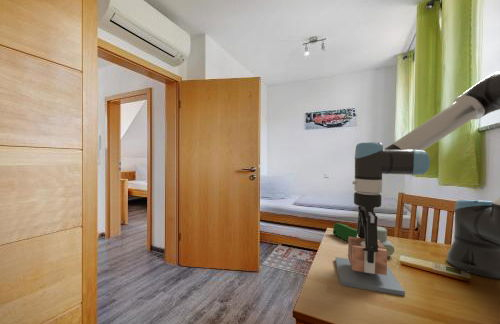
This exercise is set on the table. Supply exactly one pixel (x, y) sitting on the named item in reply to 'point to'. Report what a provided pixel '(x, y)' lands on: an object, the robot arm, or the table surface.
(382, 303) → the table surface
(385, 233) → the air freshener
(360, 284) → the post board
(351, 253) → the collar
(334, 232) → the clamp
